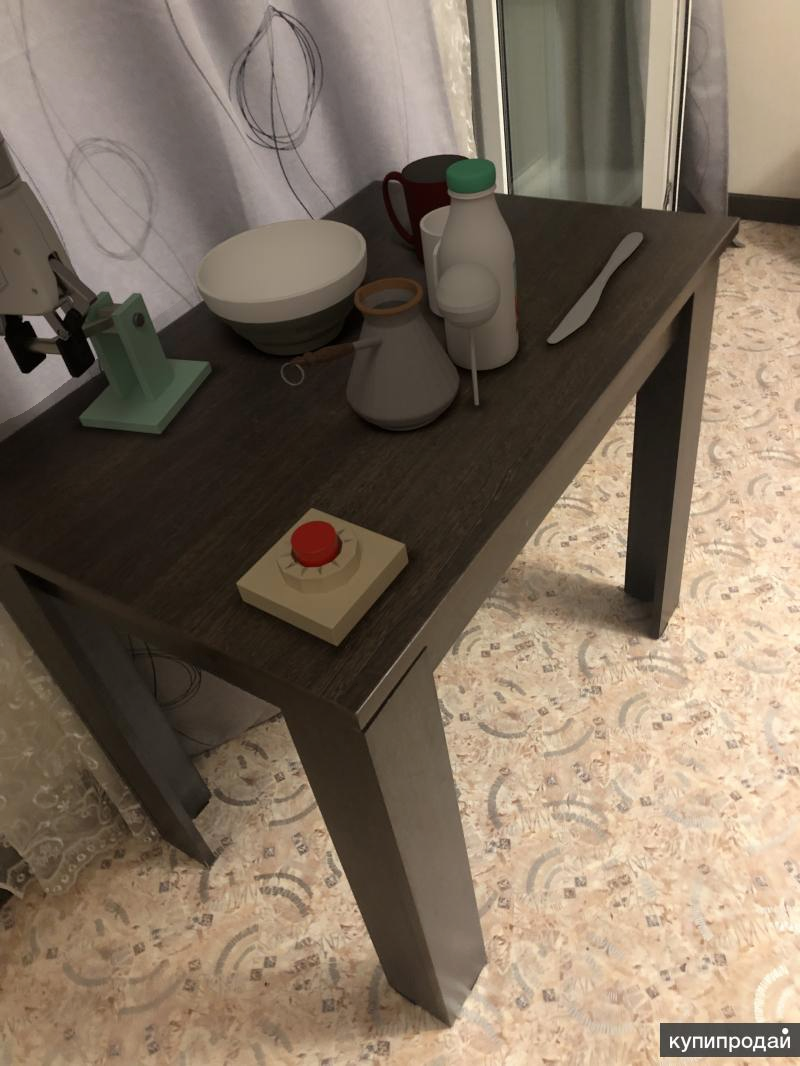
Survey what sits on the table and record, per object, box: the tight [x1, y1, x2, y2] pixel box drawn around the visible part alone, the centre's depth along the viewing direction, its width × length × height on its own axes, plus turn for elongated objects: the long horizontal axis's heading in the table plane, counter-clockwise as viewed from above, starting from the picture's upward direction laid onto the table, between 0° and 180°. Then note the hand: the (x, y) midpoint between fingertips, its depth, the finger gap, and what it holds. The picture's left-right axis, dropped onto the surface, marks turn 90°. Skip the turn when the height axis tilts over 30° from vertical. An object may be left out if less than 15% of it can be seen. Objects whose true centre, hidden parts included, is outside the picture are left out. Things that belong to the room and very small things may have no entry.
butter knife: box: [546, 231, 644, 345], centre depth 96 cm, size 1×27×3 cm
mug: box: [381, 153, 470, 265], centre depth 104 cm, size 12×9×11 cm
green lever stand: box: [78, 291, 213, 435], centre depth 88 cm, size 12×10×12 cm
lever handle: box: [24, 302, 122, 356], centre depth 81 cm, size 12×5×2 cm, turn 162°
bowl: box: [193, 218, 368, 356], centre depth 94 cm, size 20×20×10 cm
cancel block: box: [235, 507, 409, 647], centre depth 66 cm, size 10×10×4 cm
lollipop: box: [435, 262, 501, 406], centre depth 77 cm, size 6×6×15 cm
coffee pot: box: [280, 277, 460, 432], centre depth 76 cm, size 21×12×15 cm, turn 151°
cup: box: [420, 206, 450, 318], centre depth 93 cm, size 8×12×10 cm
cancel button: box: [291, 521, 339, 567], centre depth 65 cm, size 4×4×2 cm
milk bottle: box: [439, 157, 519, 371], centre depth 82 cm, size 8×8×20 cm
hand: (58, 366), depth 78 cm, fingers closed on lever handle, 5 cm apart
